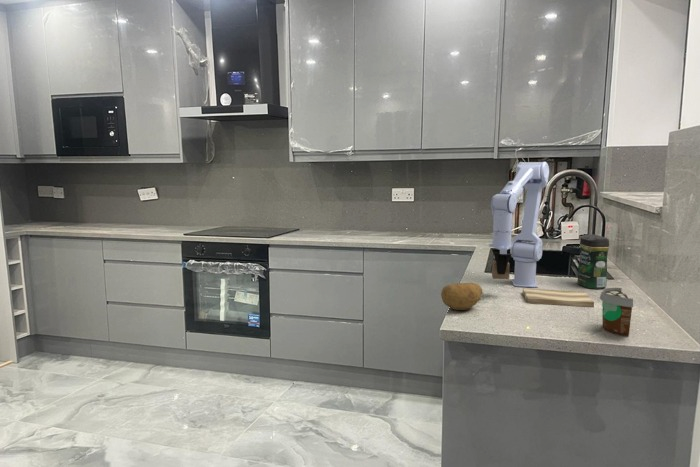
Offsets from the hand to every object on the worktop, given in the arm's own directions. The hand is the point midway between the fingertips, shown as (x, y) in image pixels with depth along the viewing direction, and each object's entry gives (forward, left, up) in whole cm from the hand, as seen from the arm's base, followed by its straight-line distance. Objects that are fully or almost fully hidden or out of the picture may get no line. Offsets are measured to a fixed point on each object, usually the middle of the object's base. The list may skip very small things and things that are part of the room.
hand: (500, 272), depth 157 cm
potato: (+18, -12, -8) cm, 23 cm away
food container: (+28, +26, -8) cm, 39 cm away
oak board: (0, +17, -8) cm, 19 cm away
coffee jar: (-21, +33, -8) cm, 40 cm away
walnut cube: (0, 0, -2) cm, 2 cm away
